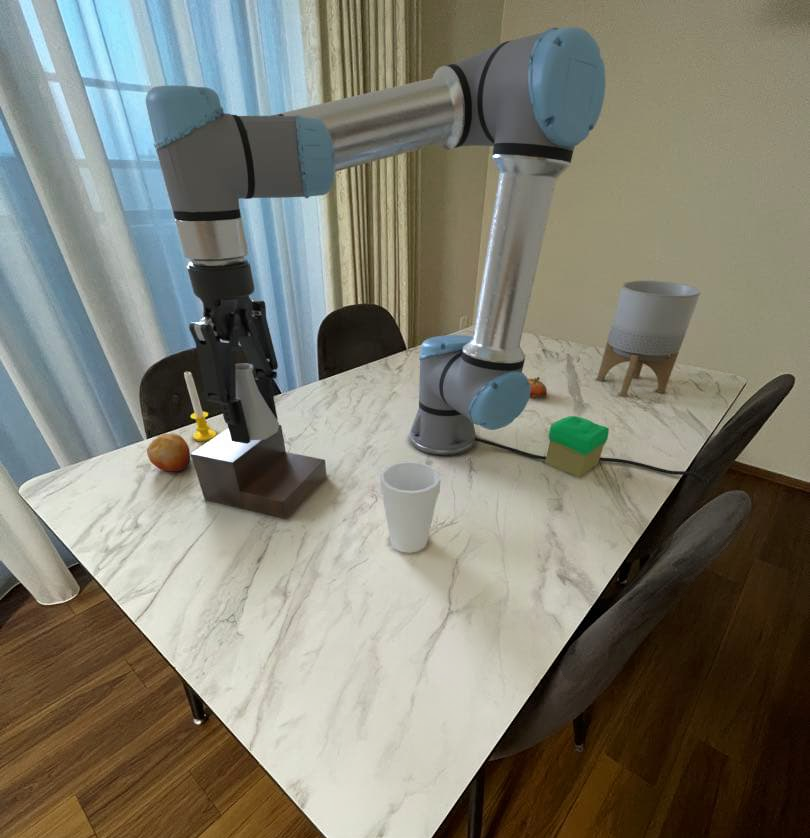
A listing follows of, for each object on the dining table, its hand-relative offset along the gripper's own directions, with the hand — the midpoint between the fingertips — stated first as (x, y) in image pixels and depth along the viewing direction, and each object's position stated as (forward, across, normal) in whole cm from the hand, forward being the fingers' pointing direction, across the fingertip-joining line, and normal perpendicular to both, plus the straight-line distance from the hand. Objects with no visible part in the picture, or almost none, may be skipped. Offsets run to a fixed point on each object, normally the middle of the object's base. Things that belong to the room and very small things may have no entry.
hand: (255, 429), depth 73 cm
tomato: (+20, -76, +36) cm, 87 cm away
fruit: (+18, -10, -31) cm, 37 cm away
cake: (+20, -41, +49) cm, 67 cm away
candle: (+19, -24, -34) cm, 46 cm away
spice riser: (+19, -10, -8) cm, 23 cm away
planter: (+20, -94, +63) cm, 115 cm away
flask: (0, 0, 0) cm, 0 cm away
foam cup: (+19, -3, +24) cm, 31 cm away
